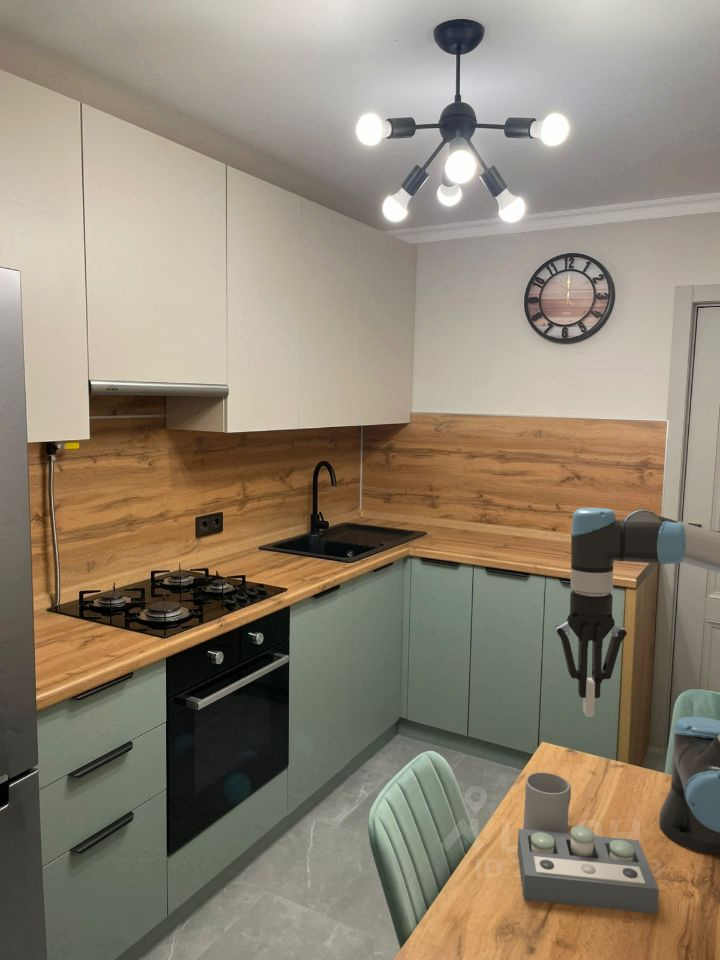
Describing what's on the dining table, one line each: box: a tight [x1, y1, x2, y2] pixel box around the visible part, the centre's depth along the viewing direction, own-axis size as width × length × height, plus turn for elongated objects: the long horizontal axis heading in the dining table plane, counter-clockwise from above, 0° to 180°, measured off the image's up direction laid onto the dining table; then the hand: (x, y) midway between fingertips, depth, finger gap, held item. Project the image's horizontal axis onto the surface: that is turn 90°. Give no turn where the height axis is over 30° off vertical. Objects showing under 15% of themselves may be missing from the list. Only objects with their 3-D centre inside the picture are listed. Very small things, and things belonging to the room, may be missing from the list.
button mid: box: [570, 825, 596, 858], centre depth 132 cm, size 4×4×4 cm
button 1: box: [531, 832, 555, 854], centre depth 134 cm, size 4×4×4 cm
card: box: [534, 856, 645, 885], centre depth 126 cm, size 18×4×1 cm, turn 82°
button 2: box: [609, 840, 634, 862], centre depth 132 cm, size 4×4×4 cm
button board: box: [517, 828, 660, 915], centre depth 130 cm, size 22×14×4 cm, turn 82°
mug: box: [522, 772, 572, 833], centre depth 145 cm, size 12×8×11 cm
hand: (588, 713), depth 137 cm, fingers closed
